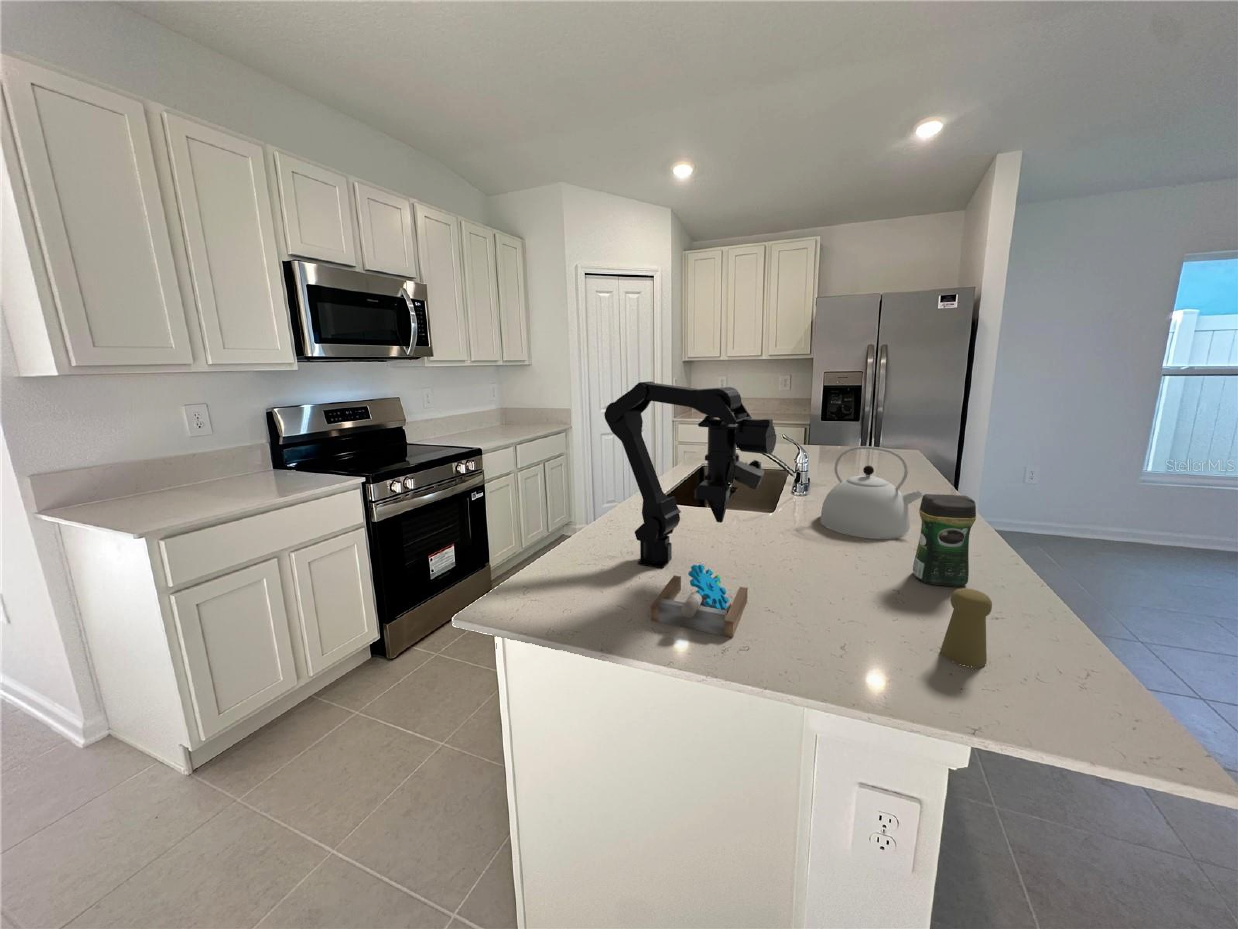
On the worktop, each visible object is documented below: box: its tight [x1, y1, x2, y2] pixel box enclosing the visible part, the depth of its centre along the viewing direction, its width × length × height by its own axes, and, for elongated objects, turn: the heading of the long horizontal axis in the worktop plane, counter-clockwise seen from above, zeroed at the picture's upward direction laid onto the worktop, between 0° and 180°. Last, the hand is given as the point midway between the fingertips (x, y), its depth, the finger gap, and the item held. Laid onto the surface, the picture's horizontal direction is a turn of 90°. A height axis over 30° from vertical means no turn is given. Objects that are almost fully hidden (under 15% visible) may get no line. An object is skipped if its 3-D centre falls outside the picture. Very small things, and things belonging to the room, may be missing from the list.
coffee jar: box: [912, 493, 977, 587], centre depth 101 cm, size 10×8×19 cm
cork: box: [940, 587, 993, 668], centre depth 76 cm, size 6×6×11 cm
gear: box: [688, 563, 730, 610], centre depth 95 cm, size 11×6×10 cm
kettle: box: [819, 445, 925, 540], centre depth 134 cm, size 25×23×22 cm
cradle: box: [650, 574, 749, 638], centre depth 91 cm, size 15×15×6 cm
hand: (719, 522), depth 103 cm, fingers closed
